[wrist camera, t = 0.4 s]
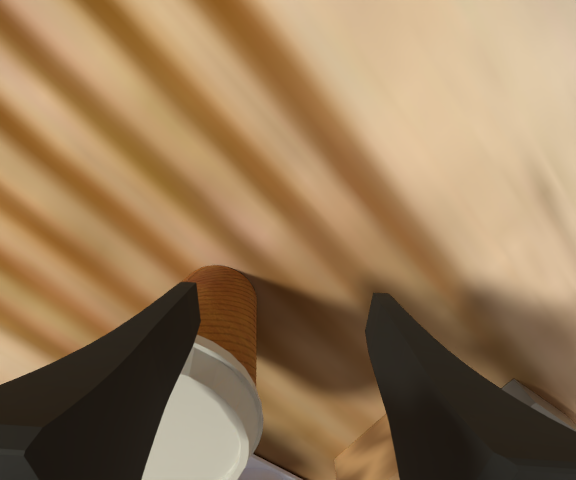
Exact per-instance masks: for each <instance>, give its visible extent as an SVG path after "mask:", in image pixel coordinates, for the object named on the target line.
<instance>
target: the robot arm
mask: <svg viewBox="0 0 576 480" xmlns="http://www.w3.org/2000/svg"><path fill="white" fill-rule="evenodd" d="M200 323H201V318H200V309H199V301H198V293H197V284H196V282H180V283H179V284H177V285H176V286H175V287H173V288H172V289H171V290H169V291H168V292H167V293H166V294H164V295H163V296H162V297H160V298H159V299H158V300H156V301H155V302H154V303H152V304H151V305H150V306H148V307H147V308H146V309H144V310H143V311H141V312H140V313H138V314H137V315H136V316H134V317H133V318H131V319H130V320H128V321H127V322H125V323H124V324H122V325H121V326H119V327H118V328H116V329H115V330H113V331H111V332H110V333H108V334H106V335H105V336H103V337H101V338H99V339H98V340H96V341H94V342H93V343H91V344H89V345H87V346H85V347H83V348H81V349H79V350H77V351H75V352H73V353H71V354H69V355H67V356H65V357H63V358H61V359H59V360H57V361H55V362H53V363H51V364H49V365H47V366H44V367H42V368H40V369H38V370H35V371H33V372H31V373H28V374H26V375H24V376H21V377H19V378H16V379H14V380H12V381H9V382H6V383H4V384H1V385H0V480H141V479H142V476H143V473H144V470H145V466H146V463H147V460H148V457H149V454H150V451H151V448H152V445H153V442H154V439H155V436H156V433H157V430H158V427H159V424H160V421H161V418H162V416H163V413H164V410H165V407H166V405H167V402H168V400H169V397H170V395H171V393H172V391H173V389H174V386H175V384H176V382H177V380H178V378H179V376H180V373H181V371H182V369H183V367H184V365H185V363H186V360H187V358H188V356H189V354H190V352H191V349H192V347H193V345H194V342H195V339H196V336H197V333H198V329H199V326H200ZM365 334H366V340H367V346H368V352H369V356H370V360H371V363H372V367H373V370H374V373H375V377H376V380H377V383H378V387H379V390H380V393H381V397H382V400H383V403H384V406H385V410H386V414H387V418H388V421H389V426H390V431H391V436H392V441H393V446H394V451H395V457H396V462H397V468H398V473H399V478H400V480H576V431H574V430H572V429H570V428H568V427H566V426H564V425H562V424H560V423H558V422H556V421H555V420H553V419H551V418H549V417H547V416H545V415H544V414H542V413H540V412H538V411H537V410H535V409H533V408H532V407H530V406H528V405H526V404H525V403H523V402H521V401H520V400H518V399H516V398H515V397H513V396H512V395H510V394H508V393H507V392H505V391H504V390H502V389H501V388H499V387H498V386H496V385H495V384H493V383H492V382H490V381H489V380H487V379H486V378H484V377H483V376H481V375H480V374H478V373H477V372H476V371H474V370H473V369H472V368H470V367H469V366H468V365H466V364H465V363H464V362H462V361H461V360H460V359H458V358H457V357H456V356H455V355H453V354H452V353H451V352H450V351H448V350H447V349H446V348H445V347H444V346H443V345H441V344H440V343H439V342H438V341H437V340H436V339H434V338H433V337H432V336H431V335H430V334H429V333H428V332H427V331H426V330H425V329H424V328H423V327H421V326H420V325H419V324H418V323H417V322H416V321H415V320H414V319H413V318H412V317H411V316H410V315H409V314H408V313H407V312H406V311H405V310H404V309H403V308H402V307H401V306H400V305H399V304H398V303H397V301H396V300H395V299H394V298H393V297H392V296H390V295H389V294H387V293H373V296H372V301H371V306H370V310H369V315H368V320H367V324H366V329H365ZM238 480H303V479H301V478H299V477H297V476H295V475H293V474H291V473H289V472H287V471H285V470H283V469H281V468H279V467H278V466H276V465H274V464H272V463H270V462H268V461H266V460H264V459H262V458H260V457H258V456H256V455H254V454H252V455H251V456H250V458H249V459H248V462H247V465H246V467H245V469H244V471H243V472H242V474H241V476H240V477H239V478H238Z"/></svg>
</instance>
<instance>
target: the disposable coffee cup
mask: <svg viewBox="0 0 576 480" xmlns="http://www.w3.org/2000/svg"><path fill="white" fill-rule="evenodd" d="M182 282H196V284H197V293H198V301H199V309H200V318H201V323H200V326H199V329H198V333H197V336H196V339H195V342H194V345H193V347H192V349H191V352H190V354H189V356H188V358H187V360H186V363H185V365H184V367H183V369H182V371H181V373H180V376H179V378H178V380H177V382H176V384H175V386H174V389H173V391H172V393H171V395H170V397H169V400H168V402H167V405H166V407H165V410H164V413H163V416H162V418H161V421H160V424H159V427H158V430H157V433H156V436H155V439H154V442H153V445H152V448H151V451H150V454H149V457H148V460H147V463H146V466H145V470H144V473H143V476H142V479H141V480H238V478H239V477H240V476H241V474H242V472H243V471H244V469H245V467H246V465H247V462H248V459H249V458H250V456H251V455H252V454H253V453H254V451H255V449H256V448H257V446H258V444H259V441H260V438H261V435H262V431H263V412H262V405H261V400H260V398H259V396H258V393H257V389H256V359H257V357H256V342H257V340H256V336H257V332H256V330H257V326H256V325H257V321H256V320H257V316H256V315H257V298H256V293H255V290H254V288H253V286H252V285H251V283H250V282H249V280H248V279H247V278H246V277H245V276H244V275H242V274H241V273H239V272H238V271H236V270H233V269H231V268H229V267H224V266H218V265H213V266H206V267H201V268H200V269H198V270H196V271H194V272H193V273H191V274H190V275H189V276H188V277H187V278H186V279H184V280H183V281H182Z"/></svg>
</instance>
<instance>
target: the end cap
mask: <svg viewBox="0 0 576 480" xmlns="http://www.w3.org/2000/svg"><path fill="white" fill-rule="evenodd" d="M501 389H502V390H504V391H505V392H507V393H508V394H510V395H512V396H513V397H515V398H516V399H518V400H520V401H521V402H523V403H525V404H526V405H528V406H530V407H532V408H533V409H535V410H537V411H538V412H540V413H542V414H544V415H545V416H547V417H549V418H551V419H553V420H555V421H556V422H558V423H560V424H562V425H564V426H566V427H568V428H570V429H572V430H574V431H576V424H575V423H574V422H573V421H572V420H571V419H570V418H569V417H568V416H567V415H565V414H564V413H563V412H561V411H560V410H558V409H557V408H555V407H554V406H552V405H551V404H550V403H548V402H547V401H545V400H544V399H542V398H541V397H540V396H538V395H537V394H535V393H534V392H532V391H531V390H529V389H528V388H527V387H525V386H524V385H522V384H521V383H519V382H518V381H517V380H515V379H513V380H512V381H510V382H509V383H508V384H506V385H505V386H504V387H503V388H501Z"/></svg>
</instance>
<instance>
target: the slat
mask: <svg viewBox="0 0 576 480" xmlns="http://www.w3.org/2000/svg"><path fill="white" fill-rule="evenodd" d="M334 463H335V471H336V480H400V478H399V473H398V468H397V462H396V457H395V451H394V446H393V441H392V436H391V431H390V426H389V421H388V418H387V414H385V415H384V416H383V417H382V418H381V419H380V420H378V421H377V422H376V423H375V424H374V425H373V426H372V427H370V428H369V429H368V430H367V431H366V432H365V433H364V434H362V435H361V436H360V437H359V438H358V439H357V440H356V441H355V442H353V443H352V444H351V445H350V446H349V447H348V448H347V449H345V450H344V451H343V452H342V453H341V454H340V455H339V456H337V457H336V458H335V459H334Z"/></svg>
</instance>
